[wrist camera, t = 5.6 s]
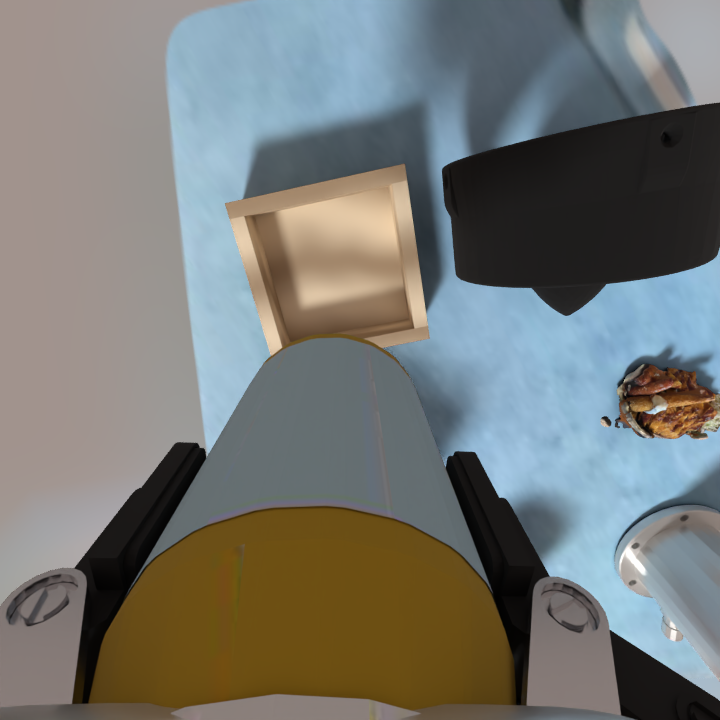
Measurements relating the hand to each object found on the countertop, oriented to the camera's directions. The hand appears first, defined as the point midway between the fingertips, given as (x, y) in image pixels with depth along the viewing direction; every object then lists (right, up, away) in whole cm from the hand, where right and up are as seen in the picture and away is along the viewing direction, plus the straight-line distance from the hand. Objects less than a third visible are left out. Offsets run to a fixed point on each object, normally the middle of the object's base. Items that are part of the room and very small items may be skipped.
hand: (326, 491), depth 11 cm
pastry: (+30, 0, +25) cm, 39 cm away
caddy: (-1, +11, +19) cm, 22 cm away
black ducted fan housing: (+13, +14, +19) cm, 27 cm away
